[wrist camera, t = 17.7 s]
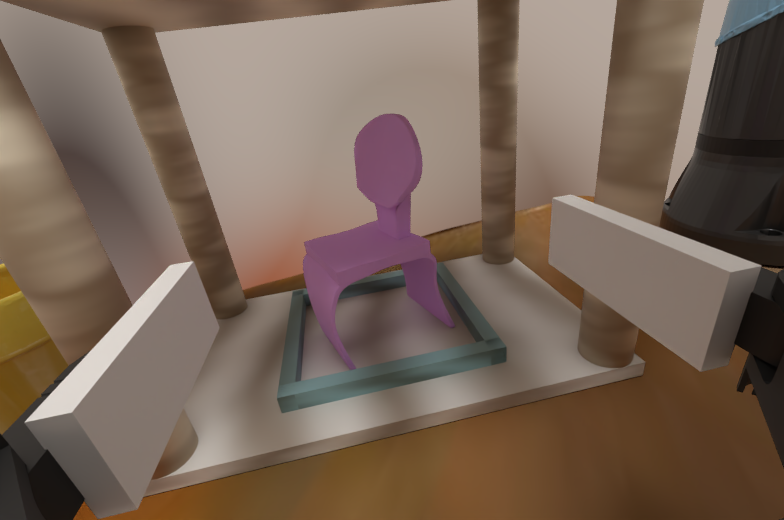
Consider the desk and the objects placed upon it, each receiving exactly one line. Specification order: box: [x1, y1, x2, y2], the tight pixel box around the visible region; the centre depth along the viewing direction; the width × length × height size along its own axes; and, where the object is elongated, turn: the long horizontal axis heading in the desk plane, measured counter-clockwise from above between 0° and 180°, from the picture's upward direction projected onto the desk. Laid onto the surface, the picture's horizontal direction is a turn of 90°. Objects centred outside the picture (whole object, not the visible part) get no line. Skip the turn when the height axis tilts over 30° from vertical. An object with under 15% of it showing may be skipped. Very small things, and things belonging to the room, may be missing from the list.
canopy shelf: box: [0, 0, 704, 497], centre depth 23 cm, size 29×18×25 cm, turn 100°
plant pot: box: [0, 264, 69, 435], centre depth 24 cm, size 10×10×10 cm
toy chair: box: [303, 114, 455, 370], centre depth 24 cm, size 8×9×15 cm
